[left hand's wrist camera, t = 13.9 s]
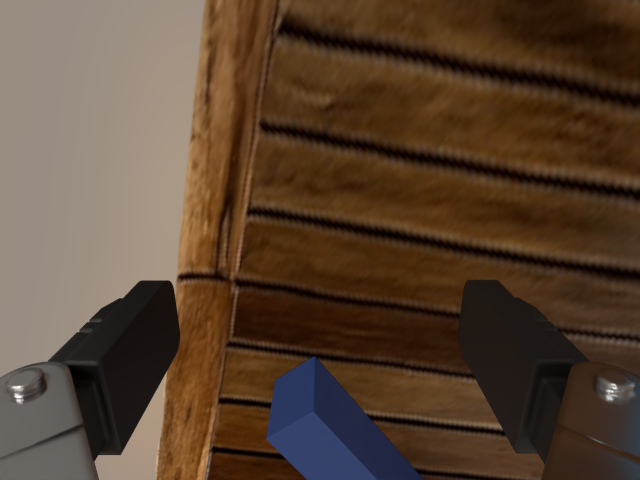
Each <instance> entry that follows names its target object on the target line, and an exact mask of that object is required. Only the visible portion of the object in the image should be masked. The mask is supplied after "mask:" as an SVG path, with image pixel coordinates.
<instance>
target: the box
mask: <svg viewBox="0 0 640 480" xmlns="http://www.w3.org/2000/svg"><path fill="white" fill-rule="evenodd" d="M266 439H267V441H268V442H269V443H270V444H271V445H273V446H274V447H275V448H276V449H277V450H278V451H279V452H280V453H281V454H282V455H283V456H284V457H285V458H286V459H287V460H288V461H289V462H290V463H291V464H292V465H293V466H294V467H295V468H296V469H297V470H298V471H299V472H300V473H301V474H302V475H303V476H304V477H305V478H306V479H307V480H423V479H422V477H421V476H420V475H419V474H418V473H417V472H416V470H415V469H414V468H413V467H412V466H411V465H410V464H409V462H408V461H407V460H406V459H405V458H404V457H403V456H402V454H401V453H400V452H399V451H398V450H397V449H396V448H395V447H394V445H393V444H392V443H391V442H390V441H389V440H388V439H387V437H386V436H385V435H384V434H383V433H382V432H381V431H380V430H379V428H378V427H377V426H376V425H375V424H374V423H373V422H372V420H371V419H370V418H369V417H368V416H367V415H366V414H365V412H364V411H363V410H362V409H361V408H360V407H359V406H358V405H357V403H356V402H355V401H354V400H353V399H352V398H351V397H350V395H349V394H348V393H347V392H346V391H345V390H344V389H343V388H342V386H341V385H340V384H339V383H338V382H337V381H336V380H335V378H334V377H333V376H332V375H331V374H330V373H329V372H328V370H327V369H326V368H325V367H324V366H323V365H322V364H321V363H320V361H319V360H318V359H317V358H316V357H315V356H314V357H312V358H310V359H309V360H307V361H306V362H304V363H302V364H301V365H299V366H297V367H296V368H294V369H293V370H291V371H289V372H288V373H286V374H284V375H283V376H281V377H280V378H278V379H276V380H275V386H274V393H273V399H272V405H271V412H270V418H269V425H268V431H267V437H266Z"/></svg>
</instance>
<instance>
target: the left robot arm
mask: <svg viewBox="0 0 640 480" xmlns="http://www.w3.org/2000/svg"><path fill="white" fill-rule="evenodd" d="M179 342H180V329H179V322H178V315H177V308H176V301H175V294H174V288H173V285H172V283H171V282H170V281H139V282H138V283H137V284H136V285H135V286H134V287H133V288H132V289H131V290H130V292H129V293H128V294H127V295H126V296H125V297H124V298H119V299H117V300H116V301H114V302H112V303H110V304H108V305H107V306H105V307H103V308H101V309H100V310H99V311H98V312H97V313H96V314H95V315H94V316H93V317H92V318H91V319H90V322H87V323H86V324H85V325H84V326H83V327H82V328H81V329H80V332H77V333H76V334H75V335H74V336H73V337H72V338H71V339H70V340H69V341H68V342H67V343H66V344H65V345H64V346H63V347H62V348H61V349H60V350H59V351H58V352H57V353H56V354H55V355H54V356H53V357H51V359H49V360H48V361H47V362H40V363H35V364H31V365H27V366H24V367H21V368H18V369H16V370H14V371H11V372H9V373H7V374H6V375H4V376H2V377H0V480H99V478H98V474H97V471H96V467H95V463H94V461H95V460H96V458H97V456H98V455H121V453H122V452H123V450H124V448H125V446H126V444H127V442H128V441H129V439H130V437H131V435H132V433H133V432H134V430H135V428H136V426H137V424H138V422H139V421H140V419H141V417H142V415H143V413H144V412H145V410H146V408H147V406H148V404H149V403H150V401H151V399H152V397H153V395H154V393H155V392H156V390H157V388H158V386H159V384H160V383H161V381H162V379H163V377H164V375H165V374H166V372H167V370H168V368H169V366H170V364H171V363H172V361H173V359H174V357H175V355H176V353H177V351H178V347H179ZM458 342H459V347H460V350H461V353H462V355H463V357H464V359H465V360H466V362H467V364H468V366H469V368H470V370H471V371H472V373H473V375H474V377H475V379H476V381H477V382H478V384H479V386H480V388H481V390H482V392H483V393H484V395H485V397H486V399H487V401H488V403H489V405H490V406H491V408H492V410H493V412H494V414H495V416H496V417H497V419H498V421H499V423H500V425H501V427H502V428H503V430H504V432H505V434H506V436H507V438H508V439H509V441H510V443H511V445H512V447H513V449H514V450H515V452H516V453H538V454H539V456H540V457H541V459H542V461H543V462H544V464H545V467H544V471H543V474H542V478H541V480H640V377H638V376H636V375H634V374H633V373H631V372H629V371H626V370H624V369H622V368H619V367H616V366H613V365H609V364H605V363H600V362H590V361H589V360H588V359H587V358H586V357H585V356H584V355H583V354H582V353H581V352H580V351H579V350H578V349H577V348H576V347H575V346H574V345H573V344H572V343H571V342H570V341H569V340H568V339H567V338H566V337H565V336H564V335H563V334H562V333H561V332H558V331H557V328H556V327H555V326H554V325H553V324H552V323H551V322H548V319H547V318H546V317H545V316H544V315H543V314H542V313H541V312H540V311H539V310H538V309H537V308H536V307H534V306H532V305H530V304H529V303H527V302H525V301H523V300H521V299H520V298H514V297H513V296H512V295H511V294H510V293H509V291H508V290H507V289H506V288H505V287H504V286H503V285H502V284H501V283H500V282H499V281H498V280H468V281H467V282H466V284H465V286H464V291H463V299H462V306H461V313H460V320H459V327H458Z"/></svg>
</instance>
